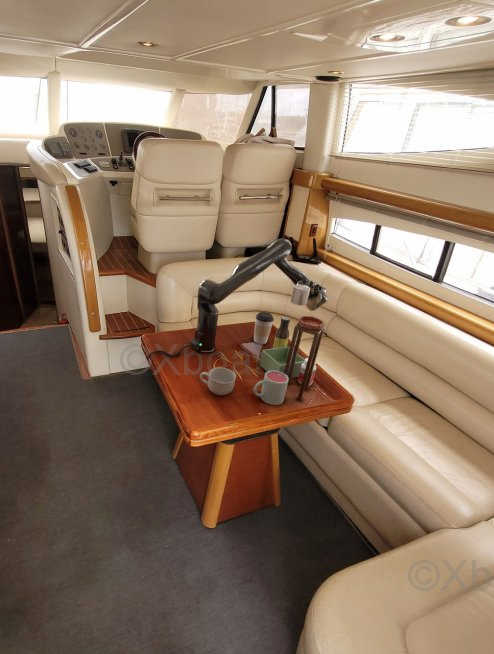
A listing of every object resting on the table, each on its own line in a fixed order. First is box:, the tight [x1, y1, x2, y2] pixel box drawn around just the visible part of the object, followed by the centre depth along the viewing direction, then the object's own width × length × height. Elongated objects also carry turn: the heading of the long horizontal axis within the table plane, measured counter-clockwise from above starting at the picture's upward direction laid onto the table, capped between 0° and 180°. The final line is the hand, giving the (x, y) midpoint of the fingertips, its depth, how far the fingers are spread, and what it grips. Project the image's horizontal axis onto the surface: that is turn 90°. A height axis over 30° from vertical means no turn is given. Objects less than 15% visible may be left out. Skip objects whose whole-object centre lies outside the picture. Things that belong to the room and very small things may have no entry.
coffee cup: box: [253, 311, 275, 345], centre depth 195 cm, size 9×9×15 cm
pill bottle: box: [297, 357, 317, 387], centre depth 163 cm, size 6×6×11 cm
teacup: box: [199, 366, 237, 396], centre depth 153 cm, size 14×11×8 cm
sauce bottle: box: [272, 316, 291, 349], centre depth 180 cm, size 6×6×20 cm
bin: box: [258, 345, 306, 379], centre depth 172 cm, size 14×14×8 cm
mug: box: [253, 371, 289, 406], centre depth 151 cm, size 14×9×10 cm
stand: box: [284, 315, 327, 401], centre depth 152 cm, size 10×9×32 cm
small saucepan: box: [290, 280, 311, 306], centre depth 159 cm, size 17×6×6 cm, turn 150°
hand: (308, 282), depth 161 cm, fingers closed on small saucepan
